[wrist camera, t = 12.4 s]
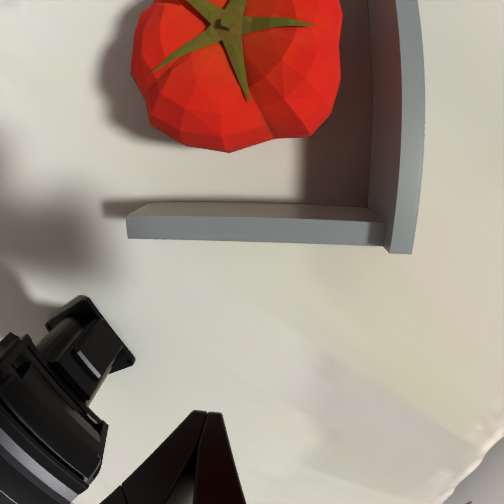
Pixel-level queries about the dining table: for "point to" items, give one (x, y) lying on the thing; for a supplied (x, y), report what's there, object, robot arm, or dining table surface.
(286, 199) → the dining table surface
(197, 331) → the dining table surface
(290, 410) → the dining table surface
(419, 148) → the u-shaped frame
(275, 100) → the tomato
